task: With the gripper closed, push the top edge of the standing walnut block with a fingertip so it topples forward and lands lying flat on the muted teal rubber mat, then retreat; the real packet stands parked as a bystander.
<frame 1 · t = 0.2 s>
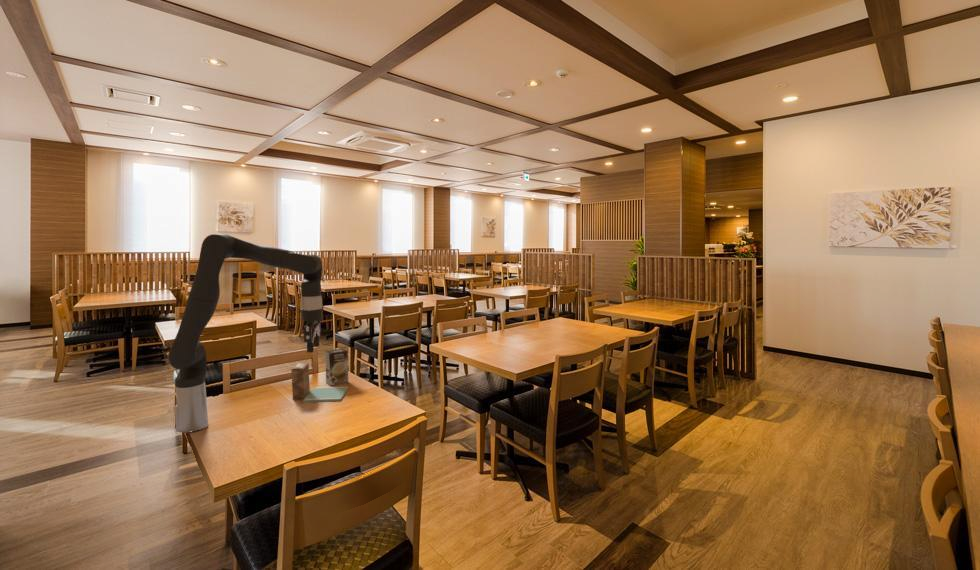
hand: (313, 349, 166), 29 cm above the table, fingers open, 8 cm apart
coffee box: (337, 382, 215), on the table
mat: (326, 394, 198), on the table
walnut block: (301, 395, 197), on the table
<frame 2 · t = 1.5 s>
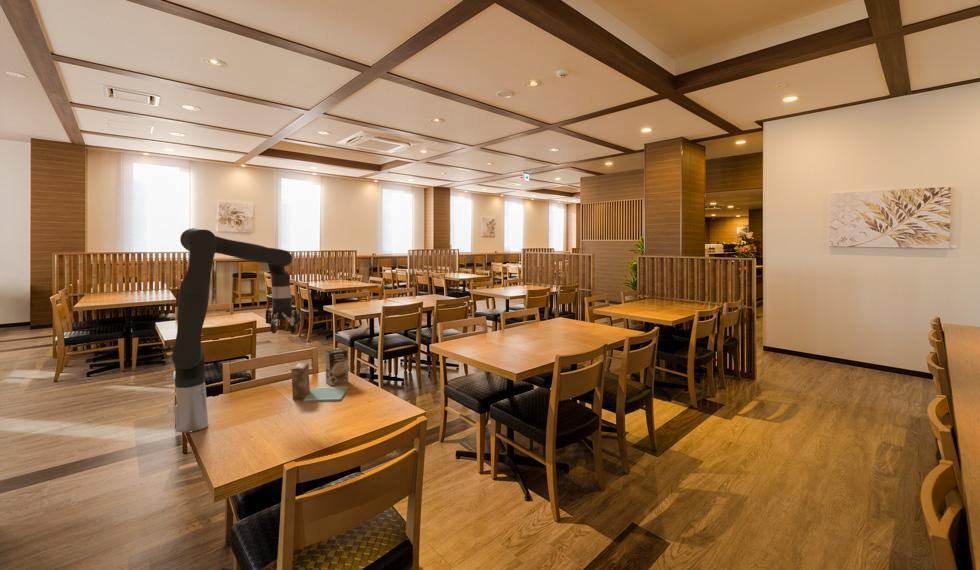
hand: (283, 333, 188), 30 cm above the table, fingers open, 8 cm apart
nothing on the table moved.
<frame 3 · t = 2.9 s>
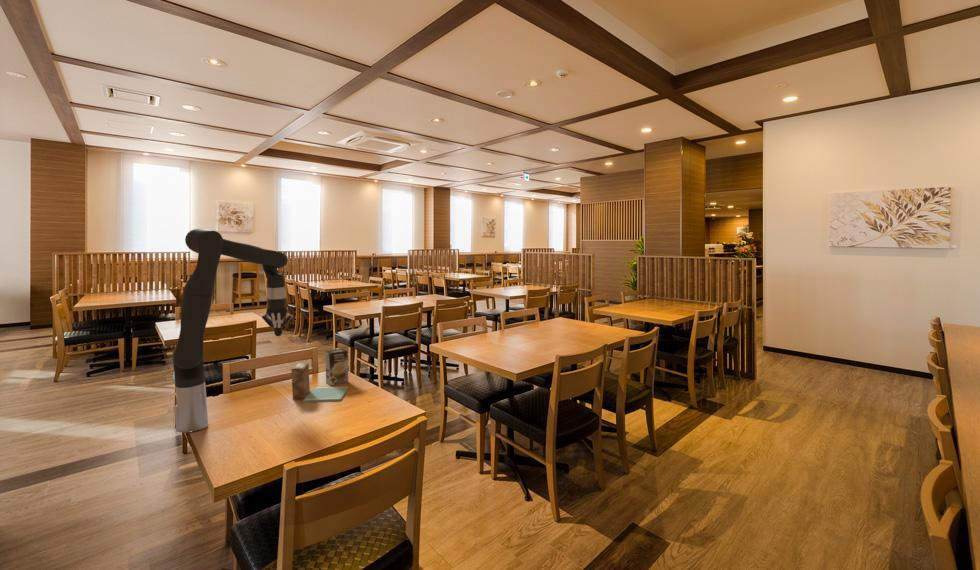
hand: (278, 335, 193), 28 cm above the table, fingers closed
nothing on the table moved.
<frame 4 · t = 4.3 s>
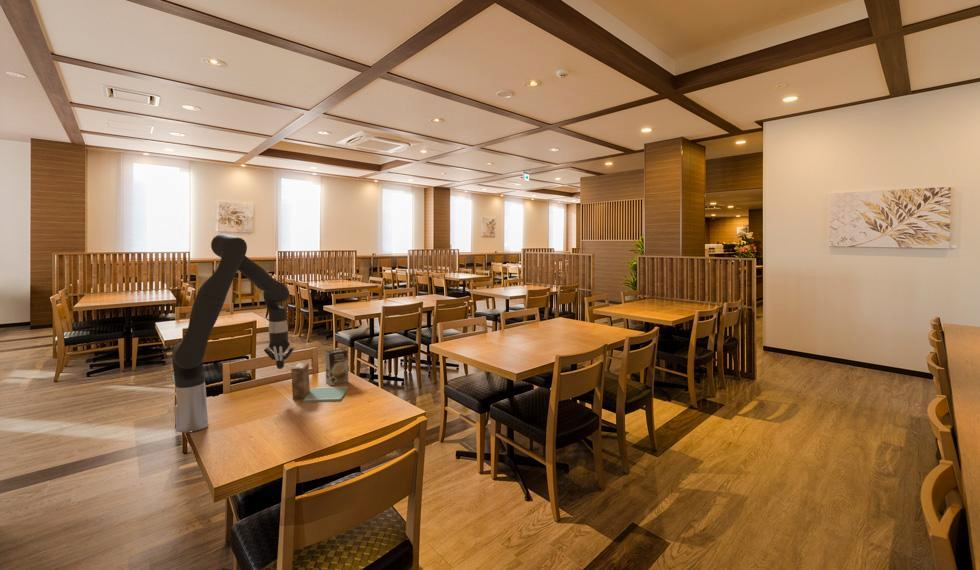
hand: (280, 368, 194), 13 cm above the table, fingers closed
nothing on the table moved.
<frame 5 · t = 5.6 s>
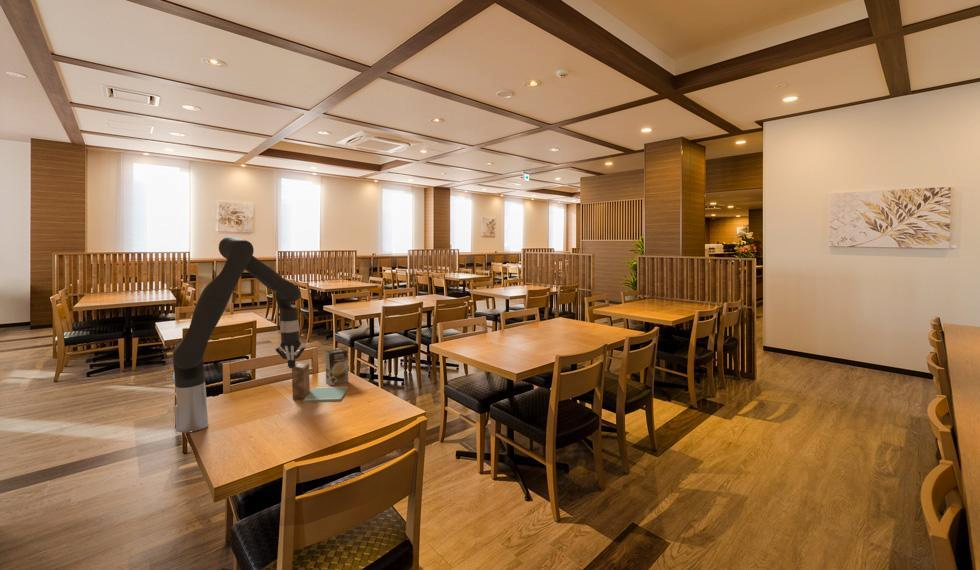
hand: (291, 367, 195), 13 cm above the table, fingers closed
walnut block: (301, 395, 197), on the table, touching gripper
everything else where it was.
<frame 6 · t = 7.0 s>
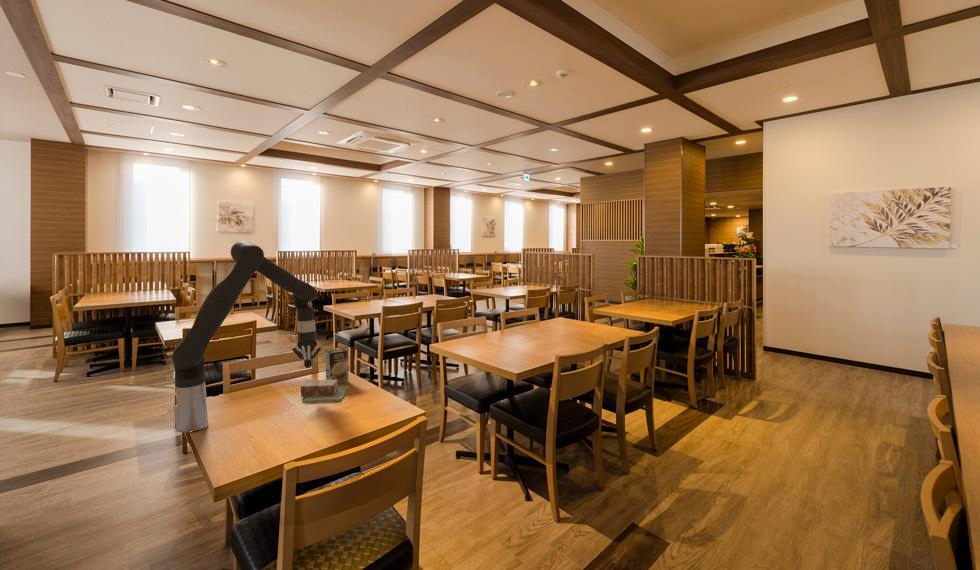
hand: (308, 367, 196), 13 cm above the table, fingers closed
walnut block: (303, 388, 197), point 3 cm above the table, tilted 90°, touching mat
everything else where it was.
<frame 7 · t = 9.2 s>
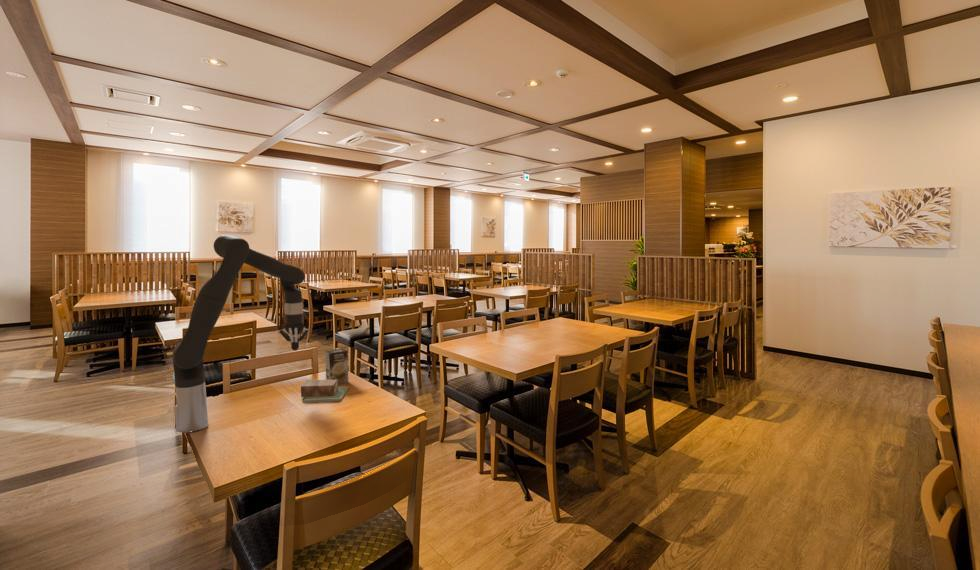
hand: (295, 349, 197), 21 cm above the table, fingers closed
nothing on the table moved.
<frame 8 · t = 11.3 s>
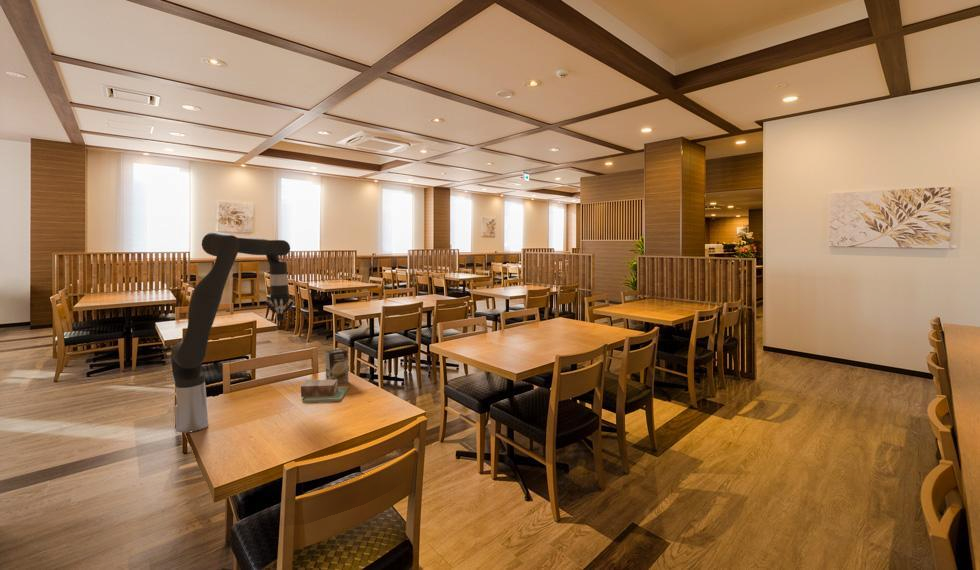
hand: (281, 321, 200), 33 cm above the table, fingers closed
nothing on the table moved.
at the end: walnut block tilted 90°; walnut block inside the target area (10.9 cm from its centre), point 3.3 cm above the table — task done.
